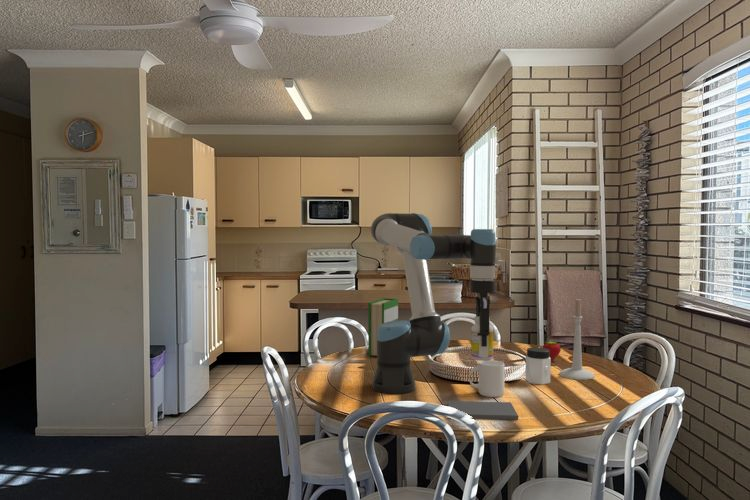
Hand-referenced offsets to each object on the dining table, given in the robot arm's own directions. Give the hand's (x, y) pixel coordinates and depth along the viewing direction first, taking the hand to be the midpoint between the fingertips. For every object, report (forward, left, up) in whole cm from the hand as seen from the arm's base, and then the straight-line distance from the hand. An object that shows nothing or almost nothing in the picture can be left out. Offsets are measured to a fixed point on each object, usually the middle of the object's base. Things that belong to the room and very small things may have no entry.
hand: (482, 354), depth 175 cm
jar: (+25, +37, -18) cm, 48 cm away
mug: (+4, +20, -18) cm, 27 cm away
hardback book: (-35, +80, -18) cm, 89 cm away
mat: (0, 0, -18) cm, 18 cm away
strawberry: (+38, +71, -18) cm, 83 cm away
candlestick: (+42, +47, -18) cm, 66 cm away
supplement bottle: (0, 0, -2) cm, 2 cm away
